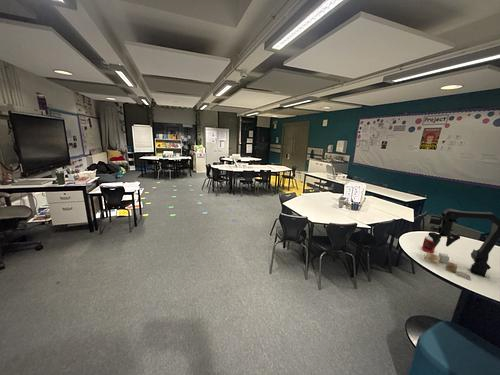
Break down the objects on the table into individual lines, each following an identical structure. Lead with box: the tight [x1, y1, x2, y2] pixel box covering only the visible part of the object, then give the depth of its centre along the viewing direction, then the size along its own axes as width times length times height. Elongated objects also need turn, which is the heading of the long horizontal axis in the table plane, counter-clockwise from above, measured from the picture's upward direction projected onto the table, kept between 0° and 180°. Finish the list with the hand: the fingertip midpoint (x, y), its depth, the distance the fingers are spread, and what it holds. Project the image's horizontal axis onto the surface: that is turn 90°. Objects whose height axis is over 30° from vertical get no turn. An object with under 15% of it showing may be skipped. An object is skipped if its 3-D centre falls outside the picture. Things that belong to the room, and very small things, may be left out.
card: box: [455, 270, 472, 281], centre depth 136 cm, size 7×7×1 cm
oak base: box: [425, 252, 440, 265], centre depth 151 cm, size 7×7×4 cm
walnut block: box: [445, 261, 458, 274], centre depth 140 cm, size 4×4×5 cm
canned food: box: [421, 235, 436, 254], centre depth 164 cm, size 8×8×11 cm
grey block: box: [438, 252, 450, 264], centre depth 151 cm, size 4×4×5 cm
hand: (440, 246), depth 147 cm, fingers open, 9 cm apart
